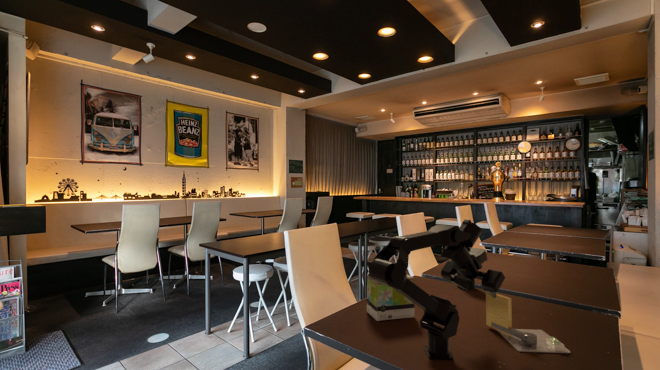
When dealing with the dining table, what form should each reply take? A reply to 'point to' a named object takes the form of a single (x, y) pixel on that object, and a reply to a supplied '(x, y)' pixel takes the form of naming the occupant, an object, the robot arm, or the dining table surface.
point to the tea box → (388, 301)
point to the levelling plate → (543, 342)
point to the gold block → (504, 318)
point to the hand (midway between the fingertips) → (481, 293)
